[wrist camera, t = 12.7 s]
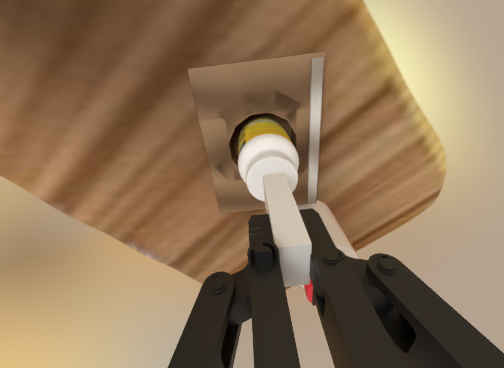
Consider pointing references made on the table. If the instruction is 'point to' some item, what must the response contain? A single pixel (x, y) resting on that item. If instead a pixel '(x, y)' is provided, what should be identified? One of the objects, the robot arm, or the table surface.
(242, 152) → the supplement bottle
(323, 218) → the pill bottle
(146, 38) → the table surface
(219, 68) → the jig
